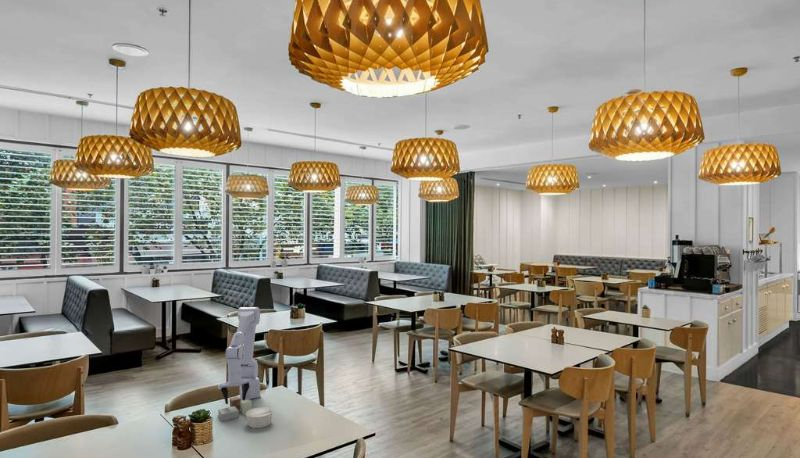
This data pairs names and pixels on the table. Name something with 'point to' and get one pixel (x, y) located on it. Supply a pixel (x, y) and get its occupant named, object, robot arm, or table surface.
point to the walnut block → (235, 402)
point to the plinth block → (228, 413)
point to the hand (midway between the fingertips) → (235, 401)
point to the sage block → (245, 406)
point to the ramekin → (259, 417)
